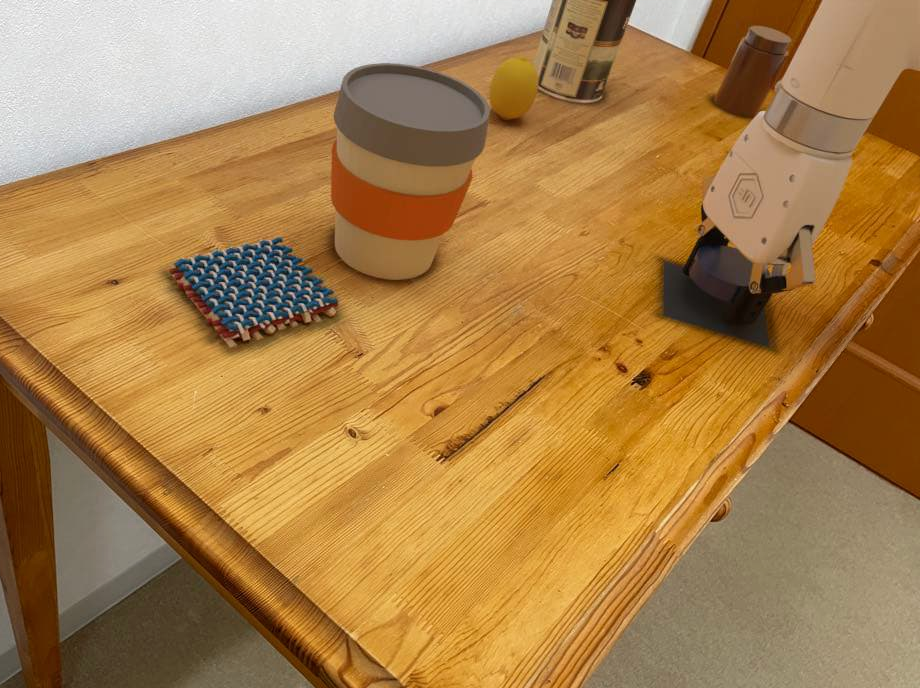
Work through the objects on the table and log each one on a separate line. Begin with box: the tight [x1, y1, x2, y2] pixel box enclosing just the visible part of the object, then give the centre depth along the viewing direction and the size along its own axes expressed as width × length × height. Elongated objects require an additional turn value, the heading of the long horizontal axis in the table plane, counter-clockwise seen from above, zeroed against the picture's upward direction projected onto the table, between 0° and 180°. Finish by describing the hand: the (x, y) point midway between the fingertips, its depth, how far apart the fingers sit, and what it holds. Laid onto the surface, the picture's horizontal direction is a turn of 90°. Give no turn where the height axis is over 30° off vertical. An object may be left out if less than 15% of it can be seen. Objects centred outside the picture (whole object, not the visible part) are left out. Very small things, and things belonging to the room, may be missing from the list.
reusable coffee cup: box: [330, 62, 491, 281], centre depth 72 cm, size 13×12×15 cm
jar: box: [713, 25, 792, 119], centre depth 117 cm, size 6×6×11 cm
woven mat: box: [169, 236, 339, 349], centre depth 69 cm, size 10×11×2 cm
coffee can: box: [533, 0, 637, 104], centre depth 110 cm, size 10×10×14 cm
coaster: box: [662, 260, 771, 349], centre depth 81 cm, size 10×10×1 cm
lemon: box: [489, 55, 539, 121], centre depth 101 cm, size 6×6×8 cm
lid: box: [688, 245, 771, 303], centre depth 79 cm, size 7×7×2 cm
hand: (717, 296), depth 80 cm, fingers closed on lid, 6 cm apart
